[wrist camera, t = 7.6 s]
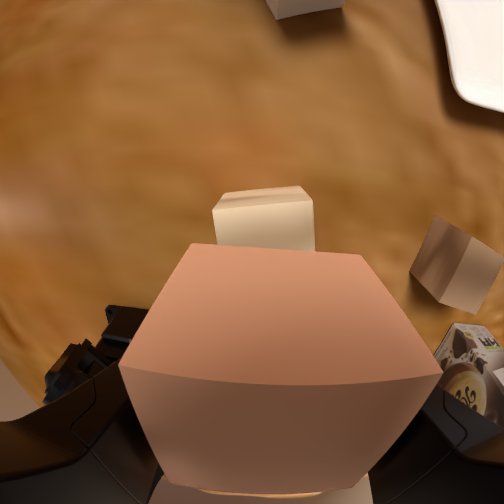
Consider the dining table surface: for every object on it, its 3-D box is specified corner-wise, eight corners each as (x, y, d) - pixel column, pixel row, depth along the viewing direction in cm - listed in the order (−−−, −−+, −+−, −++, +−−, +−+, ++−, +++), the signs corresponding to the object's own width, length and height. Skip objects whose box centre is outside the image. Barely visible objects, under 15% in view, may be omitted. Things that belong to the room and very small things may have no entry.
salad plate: (434, 103, 15) (460, 100, 12) (377, -79, 8) (388, -95, 4) (555, 140, 14) (574, 144, 11) (517, -11, 6) (532, -16, 3)
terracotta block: (327, 373, 10) (351, 487, 5) (198, 367, 10) (169, 483, 5) (360, 254, 8) (443, 372, 3) (191, 243, 8) (118, 364, 3)
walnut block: (446, 285, 21) (475, 315, 16) (408, 271, 20) (438, 302, 16) (469, 236, 19) (505, 258, 14) (434, 215, 18) (472, 236, 14)
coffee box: (451, 321, 22) (533, 439, 7) (484, 324, 22) (557, 420, 7) (410, 385, 25) (457, 500, 10) (446, 383, 26) (494, 480, 11)
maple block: (303, 255, 20) (315, 289, 15) (234, 261, 20) (226, 297, 16) (299, 185, 18) (312, 200, 14) (224, 192, 19) (212, 210, 14)
